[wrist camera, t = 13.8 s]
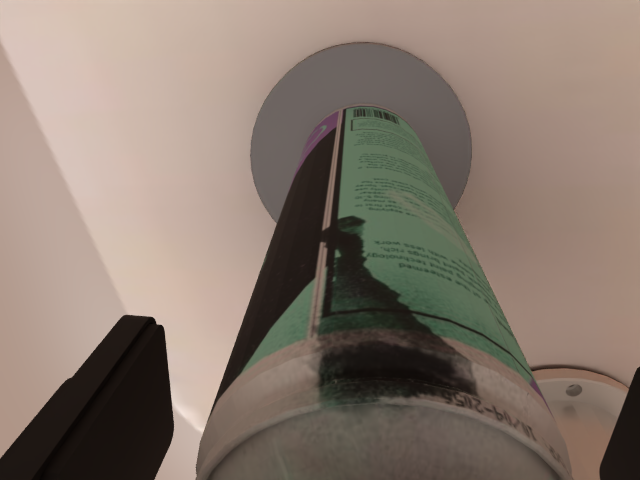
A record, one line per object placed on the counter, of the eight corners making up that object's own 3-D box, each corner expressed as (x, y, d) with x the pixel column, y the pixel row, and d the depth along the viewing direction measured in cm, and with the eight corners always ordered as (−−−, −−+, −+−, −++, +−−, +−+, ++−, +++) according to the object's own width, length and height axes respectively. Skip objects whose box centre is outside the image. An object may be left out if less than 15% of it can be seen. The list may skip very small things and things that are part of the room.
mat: (447, 252, 26) (452, 266, 24) (257, 240, 26) (252, 253, 25) (483, 47, 21) (491, 50, 20) (254, 36, 22) (248, 38, 20)
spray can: (281, 133, 22) (-43, 712, 4) (396, 80, 21) (676, 583, 3) (332, 235, 24) (267, 925, 6) (440, 192, 23) (763, 905, 5)
